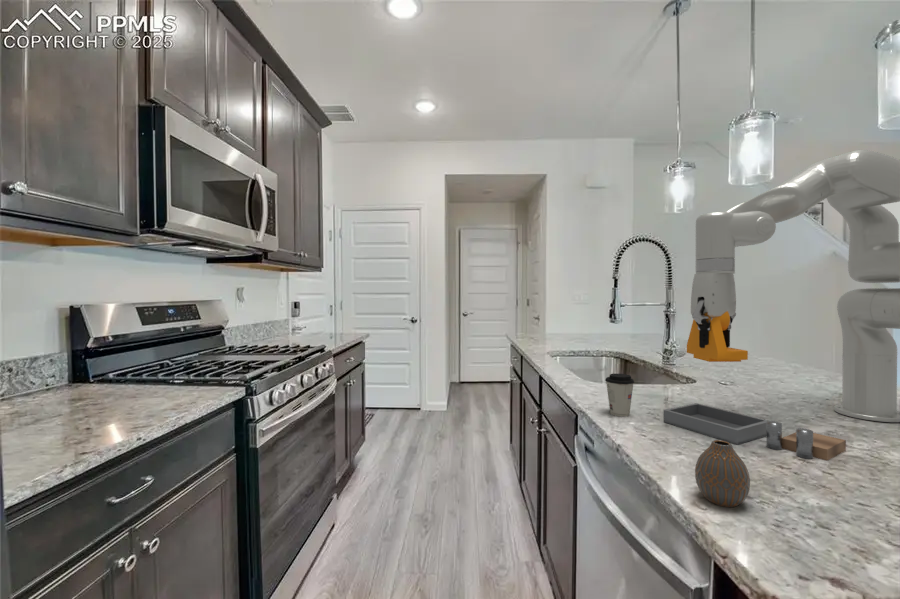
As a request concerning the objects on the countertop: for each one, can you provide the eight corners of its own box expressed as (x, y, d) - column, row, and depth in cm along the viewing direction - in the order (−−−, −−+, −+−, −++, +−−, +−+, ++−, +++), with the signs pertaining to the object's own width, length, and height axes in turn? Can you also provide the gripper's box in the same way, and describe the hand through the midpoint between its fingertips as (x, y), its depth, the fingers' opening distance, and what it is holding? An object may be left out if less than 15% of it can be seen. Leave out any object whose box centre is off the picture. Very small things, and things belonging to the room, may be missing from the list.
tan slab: (801, 441, 86) (801, 430, 86) (845, 452, 80) (845, 440, 80) (781, 450, 82) (781, 438, 82) (827, 462, 76) (827, 449, 75)
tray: (696, 414, 104) (696, 403, 104) (771, 434, 89) (771, 421, 89) (663, 422, 98) (663, 409, 98) (737, 444, 84) (737, 430, 83)
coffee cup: (605, 416, 104) (604, 377, 103) (605, 409, 110) (605, 372, 110) (635, 419, 101) (635, 379, 101) (634, 411, 107) (633, 373, 107)
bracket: (750, 363, 89) (750, 308, 88) (717, 363, 88) (718, 308, 88) (715, 356, 99) (716, 306, 99) (686, 356, 99) (687, 306, 99)
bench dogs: (770, 444, 84) (770, 420, 83) (815, 457, 77) (815, 431, 77) (764, 446, 82) (764, 421, 82) (809, 459, 76) (809, 433, 76)
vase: (684, 490, 65) (684, 435, 65) (725, 488, 65) (725, 433, 65) (717, 514, 58) (717, 452, 58) (762, 511, 58) (762, 450, 58)
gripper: (720, 269, 100) (719, 343, 101) (675, 267, 93) (675, 348, 93) (754, 267, 94) (753, 346, 94) (708, 265, 86) (708, 352, 86)
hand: (714, 346), depth 93 cm, fingers closed on bracket, 4 cm apart
